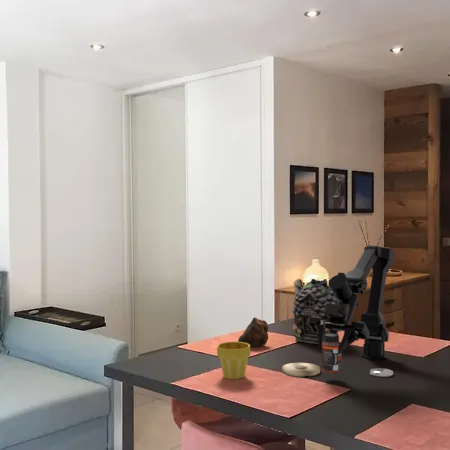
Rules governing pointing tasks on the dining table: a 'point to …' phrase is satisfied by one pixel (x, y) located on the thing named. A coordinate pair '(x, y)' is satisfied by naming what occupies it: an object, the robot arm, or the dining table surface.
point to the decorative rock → (255, 333)
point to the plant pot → (233, 358)
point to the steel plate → (381, 372)
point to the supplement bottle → (331, 354)
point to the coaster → (301, 369)
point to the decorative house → (311, 308)
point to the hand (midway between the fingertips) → (329, 350)
